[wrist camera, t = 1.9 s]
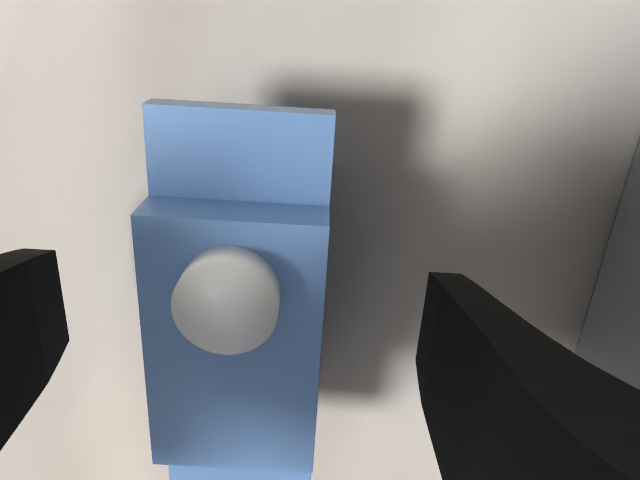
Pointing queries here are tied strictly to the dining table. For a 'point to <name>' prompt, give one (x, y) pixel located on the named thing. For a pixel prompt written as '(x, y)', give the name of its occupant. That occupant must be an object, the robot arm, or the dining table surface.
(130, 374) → the dining table surface
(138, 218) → the servo
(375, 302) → the dining table surface
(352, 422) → the dining table surface
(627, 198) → the chassis
